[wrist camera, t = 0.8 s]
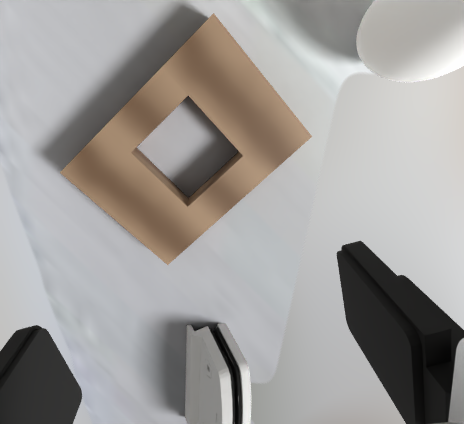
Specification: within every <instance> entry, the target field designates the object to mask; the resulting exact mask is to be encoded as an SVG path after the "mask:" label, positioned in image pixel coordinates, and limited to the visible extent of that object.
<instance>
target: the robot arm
mask: <svg viewBox="0 0 464 424" xmlns="http://www.w3.org/2000/svg"><path fill="white" fill-rule="evenodd" d="M337 260H338V267H339V274H340V281H341V287H342V294H343V301H344V308H345V315H346V321H347V324H348V327H349V329H350V331H351V333H352V335H353V336H354V338H355V340H356V341H357V343H358V345H359V346H360V348H361V350H362V351H363V353H364V355H365V356H366V358H367V360H368V361H369V363H370V365H371V366H372V368H373V370H374V371H375V373H376V374H377V376H378V378H379V380H380V381H381V382H382V384H383V386H384V388H385V389H386V391H387V392H388V394H389V396H390V397H391V399H392V401H393V403H394V404H395V406H396V408H397V409H398V411H399V412H400V414H401V416H402V418H403V419H404V421H405V422H406V424H464V330H463V329H462V328H461V327H460V326H459V325H458V324H457V323H455V322H454V321H453V320H452V319H451V318H450V317H449V316H448V315H447V314H446V313H445V312H444V311H443V310H442V309H440V308H439V307H438V306H437V305H436V304H435V303H434V302H433V301H432V300H431V299H430V298H429V297H428V296H427V295H425V294H424V293H423V292H422V291H421V290H420V289H419V288H418V287H417V286H416V285H415V284H414V283H413V282H412V281H411V280H409V279H408V278H407V277H405V276H404V275H400V276H397V275H396V274H395V273H394V272H393V271H392V270H391V269H390V268H389V267H388V266H387V265H385V264H384V263H383V262H382V261H381V260H380V259H379V258H378V257H377V256H376V255H375V254H374V253H373V252H372V251H371V250H370V249H369V248H368V247H367V246H366V245H365V244H364V243H363V242H361V241H358V242H354V243H350V244H346V245H343V246H342V251H338V252H337ZM81 399H82V391H81V388H80V386H79V385H78V383H77V381H76V379H75V378H74V376H73V374H72V372H71V371H70V369H69V367H68V365H67V364H66V362H65V360H64V358H63V357H62V355H61V353H60V351H59V350H58V348H57V346H56V344H55V343H54V341H53V339H52V337H51V336H50V334H49V332H48V331H47V330H46V329H44V328H41V327H40V326H37V325H36V326H32V327H28V328H24V329H20V330H17V331H16V332H15V333H14V334H13V335H12V337H11V338H10V339H9V341H8V342H7V343H6V345H5V346H4V347H3V349H2V350H1V351H0V424H73V421H74V419H75V416H76V413H77V410H78V408H79V405H80V403H81Z"/></svg>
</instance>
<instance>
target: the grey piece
mask: <svg viewBox="0 0 464 424" xmlns="http://www.w3.org/2000/svg"><path fill="white" fill-rule="evenodd" d="M185 418H186V421H187V424H250V420H251V384H250V372H249V366H248V363H247V361H246V360H245V358H244V356H243V354H242V352H241V350H240V349H239V347H238V345H237V343H236V341H235V339H234V338H233V336H232V334H231V332H230V330H229V328H228V327H227V325H226V324H223V323H220V324H217V327H216V328H215V334H214V332H213V330H212V329H209V327H208V326H207V327H204V328H202V329H199V330H197V331H194V330H193V328H192V326H191V325H187V343H186V391H185Z"/></svg>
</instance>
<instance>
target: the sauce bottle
mask: <svg viewBox="0 0 464 424" xmlns="http://www.w3.org/2000/svg"><path fill="white" fill-rule="evenodd" d="M356 47H357V52H358V54H359V57H360V59H361V60H362V62H363V63H364V64H365V66H366V67H367V68H368V69H370V70H371V71H372V72H373V73H375V74H377V75H378V76H380V77H382V78H385V79H388V80H391V81H398V82H417V81H424V80H430V79H434V78H437V77H439V76H442V75H445V74H447V73H450V72H452V71H454V70H456V69H458V68H460V67H462V66H464V0H374V1H373V3H372V4H371V5H370V7H369V8H368V10H367V11H366V13H365V15H364V17H363V18H362V20H361V23H360V26H359V28H358V32H357V37H356Z"/></svg>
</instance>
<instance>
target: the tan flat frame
mask: <svg viewBox="0 0 464 424" xmlns="http://www.w3.org/2000/svg"><path fill="white" fill-rule="evenodd" d="M187 96H189V97H190V98H191V99H192V100H193V101H194V102H195V103H196V104H197V106H198V107H199V108H200V109H201V110H202V111H203V112H204V113H205V114H206V116H207V117H208V118H209V119H210V120H211V121H212V122H213V123H214V124H215V125H216V127H217V128H218V129H219V130H220V131H221V132H222V133H223V134H224V135H225V136H226V138H227V139H228V140H229V141H230V142H231V143H232V144H233V145H234V146H235V148H236V149H237V150H238V151H239V152H238V153H237V154H236V155H235V156H234V157H233V158H232V159H230V160H229V161H228V162H227V163H226V164H225V165H224V166H223V167H222V168H221V169H220V170H219V171H217V172H216V173H215V174H214V175H213V176H212V177H211V178H210V179H209V180H208V181H207V182H206V183H204V184H203V185H202V186H201V187H200V188H199V189H198V190H197V191H196V192H195V193H194V194H193V195H192V196H190V197H189V198H188V197H187V196H186V195H185V194H184V193H183V192H182V191H181V190H180V189H179V188H178V187H177V186H176V185H175V184H174V183H173V182H172V181H170V180H169V179H168V178H167V177H166V176H165V175H164V174H163V173H162V172H161V171H160V170H159V169H158V168H157V167H156V166H155V165H154V164H153V163H152V162H151V161H150V160H149V159H148V158H147V157H146V156H145V155H144V154H143V153H142V152H141V151H140V150H138V149H137V148H136V147H137V146H138V145H139V144H140V143H141V142H142V141H143V140H144V139H145V138H146V137H147V136H148V135H149V134H150V133H151V132H152V131H153V130H154V129H155V128H156V127H157V126H158V125H159V124H160V123H161V122H162V121H163V120H164V119H165V118H166V117H167V116H168V115H169V114H170V113H171V112H172V111H173V110H174V109H175V108H176V107H177V106H178V105H179V104H180V103H181V102H182V101H183V100H184V99H185V98H186V97H187ZM311 137H312V136H311V135H310V133H309V132H308V131H307V130H306V128H305V127H304V126H303V125H302V123H301V122H300V121H299V120H298V118H297V117H296V116H295V115H294V113H293V112H292V111H291V110H290V108H289V107H288V106H287V105H286V103H285V102H284V101H283V100H282V98H281V97H280V96H279V95H278V93H277V92H276V91H275V90H274V88H273V87H272V86H271V85H270V83H269V82H268V81H267V80H266V78H265V77H264V76H263V75H262V73H261V72H260V71H259V70H258V68H257V67H256V66H255V65H254V63H253V62H252V61H251V60H250V58H249V57H248V56H247V55H246V53H245V52H244V51H243V50H242V48H241V47H240V46H239V45H238V43H237V42H236V41H235V40H234V38H233V37H232V36H231V35H230V33H229V32H228V31H227V29H226V28H225V27H224V26H223V24H222V23H221V22H220V21H219V19H218V18H217V17H216V16H215V14H214V13H213V14H212V16H211V17H210V18H209V19H208V20H207V21H206V22H205V23H204V24H203V25H202V26H201V27H200V28H199V29H198V30H197V31H196V32H195V33H194V34H193V35H192V36H191V37H190V38H189V39H188V40H187V41H186V42H185V43H184V45H183V46H182V47H181V48H180V49H179V50H178V51H177V52H176V53H175V54H174V55H173V56H172V57H171V58H170V59H169V60H168V61H167V62H166V63H165V64H164V65H163V66H162V67H161V68H160V69H159V70H158V71H157V72H156V74H155V75H154V76H153V77H152V78H151V79H150V80H149V81H148V82H147V83H146V84H145V85H144V86H143V87H142V88H141V89H140V90H139V91H138V92H137V93H136V94H135V95H134V96H133V97H132V98H131V99H130V100H129V102H128V103H127V104H126V105H125V106H124V107H123V108H122V109H121V110H120V111H119V112H118V113H117V114H116V115H115V116H114V117H113V118H112V119H111V120H110V121H109V122H108V123H107V124H106V125H105V126H104V127H103V128H102V129H101V131H100V132H99V133H98V134H97V135H96V136H95V137H94V138H93V139H92V140H91V141H90V142H89V143H88V144H87V145H86V146H85V147H84V148H83V149H82V150H81V151H80V152H79V153H78V154H77V155H76V156H75V157H74V159H73V160H72V161H71V162H70V163H69V164H68V165H67V166H66V167H65V168H64V169H63V170H62V171H61V172H60V173H61V174H62V175H63V176H65V177H66V178H67V179H68V180H69V181H70V182H72V183H73V184H74V185H75V186H76V187H77V188H79V189H80V190H81V191H82V192H83V193H84V194H86V195H87V196H88V197H89V198H90V199H91V200H93V201H94V202H95V203H96V204H97V205H98V206H100V207H101V208H102V209H103V210H104V211H105V212H107V213H108V214H109V215H110V216H111V217H112V218H114V219H115V220H116V221H117V222H118V223H119V224H121V225H122V226H123V227H124V228H125V229H126V230H127V231H129V232H130V233H131V234H132V235H133V236H134V237H136V238H137V239H138V240H139V241H140V242H141V243H143V244H144V245H145V246H146V247H147V248H148V249H150V250H151V251H152V252H153V253H154V254H155V255H157V256H158V257H159V258H160V259H161V260H162V261H164V262H165V263H166V264H167V265H168V264H169V263H170V262H172V261H173V260H174V259H175V258H176V257H177V256H178V255H179V254H181V253H182V252H183V251H184V250H185V249H186V248H187V247H188V246H190V245H191V244H192V243H193V242H194V241H195V240H196V239H197V238H199V237H200V236H201V235H202V234H203V233H204V232H205V231H206V230H208V229H209V228H210V227H211V226H212V225H213V224H214V223H215V222H217V221H218V220H219V219H220V218H221V217H222V216H223V215H224V214H226V213H227V212H228V211H229V210H230V209H231V208H232V207H233V206H235V205H236V204H237V203H238V202H239V201H240V200H241V199H242V198H243V197H245V196H246V195H247V194H248V193H249V192H250V191H251V190H252V189H254V188H255V187H256V186H257V185H258V184H259V183H260V182H261V181H263V180H264V179H265V178H266V177H267V176H268V175H269V174H270V173H272V172H273V171H274V170H275V169H276V168H277V167H278V166H279V165H281V164H282V163H283V162H284V161H285V160H286V159H287V158H288V157H290V156H291V155H292V154H293V153H294V152H295V151H296V150H297V149H299V148H300V147H301V146H302V145H303V144H304V143H305V142H306V141H308V140H309V139H310V138H311Z"/></svg>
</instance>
